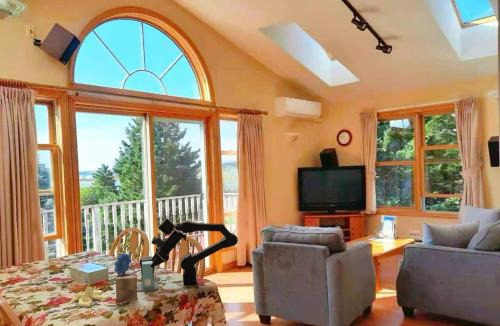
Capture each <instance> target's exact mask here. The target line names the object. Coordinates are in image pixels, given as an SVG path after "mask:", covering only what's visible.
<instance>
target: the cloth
mask: <svg viewBox="0 0 500 326" xmlns="http://www.w3.org/2000/svg"><path fill="white" fill-rule="evenodd" d="M103 292H104V291H103V290H100V289H96V290H93V287H87V288H86V289H85V291H84V292H83V293H78V294H76V295H74V296H73V297H72V299H71V300H70V301H69V302H68V303H67V305H69V306H70V305H73V304H75V302H77V301H78V303H77V307H90V305H91V304H92V303H93V300H95V301H96V300H97V301H100V302H102V303H103V302H105V301H107V300H108V299H109V298H110V295H109V294H107V295H106V294H102V293H103Z"/></svg>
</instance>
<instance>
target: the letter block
mask: <svg viewBox="0 0 500 326" xmlns="http://www.w3.org/2000/svg"><path fill="white" fill-rule="evenodd" d="M151 265H152V261H146V262H142V274H141V278H142V284H143V288H152V287H153V283H154V276H153V268H152V267H151Z"/></svg>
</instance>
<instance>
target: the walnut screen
mask: <svg viewBox="0 0 500 326" xmlns="http://www.w3.org/2000/svg"><path fill="white" fill-rule="evenodd" d="M137 290H138V276H135V275H133V276H118V277H117V276H116V278H115V296H116V297H115V301H116V302H117V300H118V301H132V300H133V301H134V300H137V298H138V292H137Z"/></svg>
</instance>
